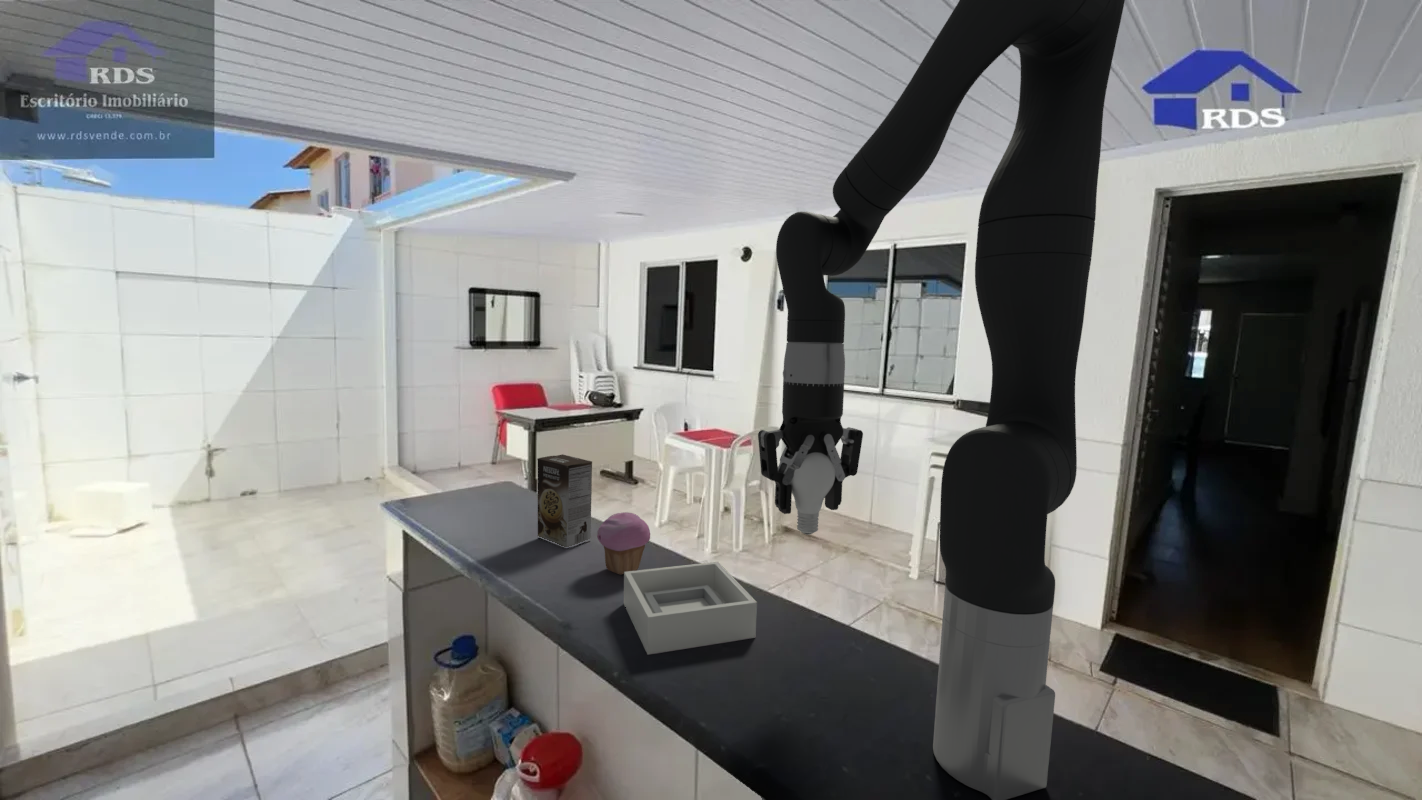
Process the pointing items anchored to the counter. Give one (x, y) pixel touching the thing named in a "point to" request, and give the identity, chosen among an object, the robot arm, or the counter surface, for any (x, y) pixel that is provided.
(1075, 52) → the robot arm
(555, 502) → the coffee box
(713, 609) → the walled box
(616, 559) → the cupcake
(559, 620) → the counter surface
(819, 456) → the lightbulb
